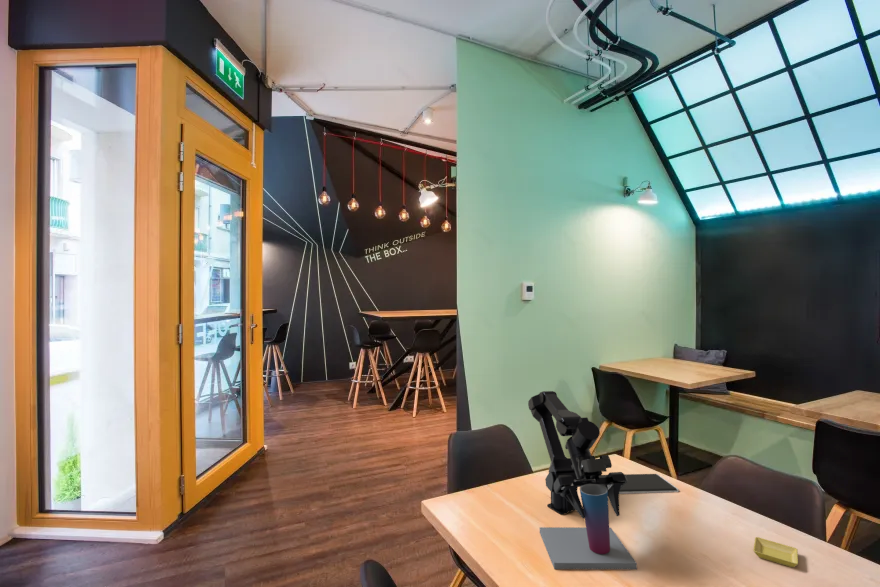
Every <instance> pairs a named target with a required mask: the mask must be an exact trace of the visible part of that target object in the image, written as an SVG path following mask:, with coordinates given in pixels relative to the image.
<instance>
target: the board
mask: <svg viewBox="0 0 880 587" xmlns="http://www.w3.org/2000/svg"><path fill="white" fill-rule="evenodd" d="M609 534H610V551H609V552H608V553H606V554H598V553H595V552H593V551H591V550H590V548H589V542H588V536H587V530H586V526H584V527H574V526H573V527H566V526H563V527H560V526H558V527H557V526H555V527H553V526H552V527H545V526H544V527H541V526H540V527H539V535H540V537H541V539H542V542H543V544H544V547H545V549H546V551H547V552H546V553H547V554H548V557H549V559H550V562H551V564H552V566H553V569H554V570H638V563H637V561H636V560H635V559H634V557H633V556H632V555H631V553H630V551H629V550H628V549H627V548H626V546H625V545H624V543H623V542H622V541H621V540H620V538H619V536H618V535H617V534H616V533H615V531H614V530H613V528H612V527H609Z"/></svg>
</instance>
